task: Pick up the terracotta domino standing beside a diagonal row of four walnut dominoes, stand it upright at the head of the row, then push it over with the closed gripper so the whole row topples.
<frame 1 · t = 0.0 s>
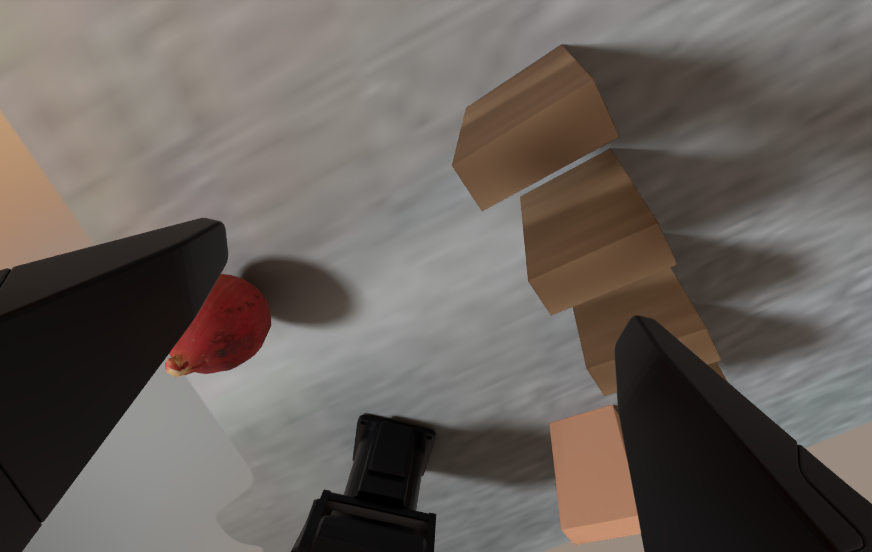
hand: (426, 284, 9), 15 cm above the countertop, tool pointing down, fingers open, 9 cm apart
domino 3: (612, 264, 25), on the countertop
domino 4: (571, 188, 23), on the countertop
loose domino: (585, 421, 33), on the countertop
pomegranate: (249, 284, 30), on the countertop
domino 5: (521, 96, 21), on the countertop
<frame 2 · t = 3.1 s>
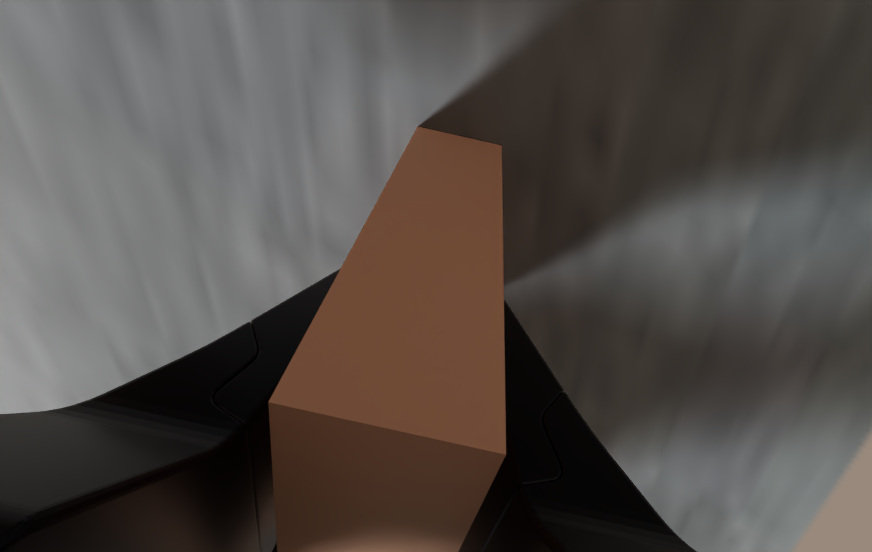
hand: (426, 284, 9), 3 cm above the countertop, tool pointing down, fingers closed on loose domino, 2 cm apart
loose domino: (439, 228, 12), on the countertop, touching gripper
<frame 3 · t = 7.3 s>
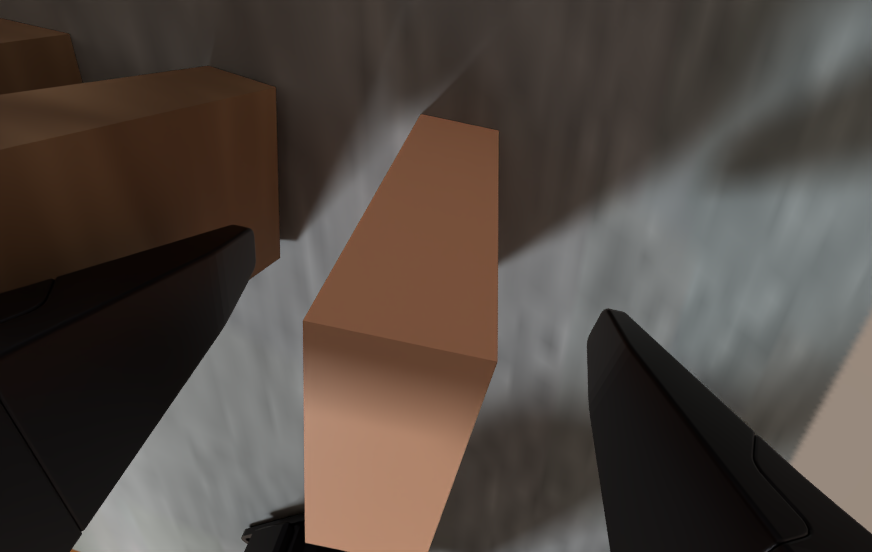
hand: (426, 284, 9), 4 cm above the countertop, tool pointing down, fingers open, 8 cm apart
domino 2: (247, 171, 12), on the countertop, tilted 14°
domino 3: (61, 124, 12), on the countertop
loose domino: (442, 210, 12), on the countertop
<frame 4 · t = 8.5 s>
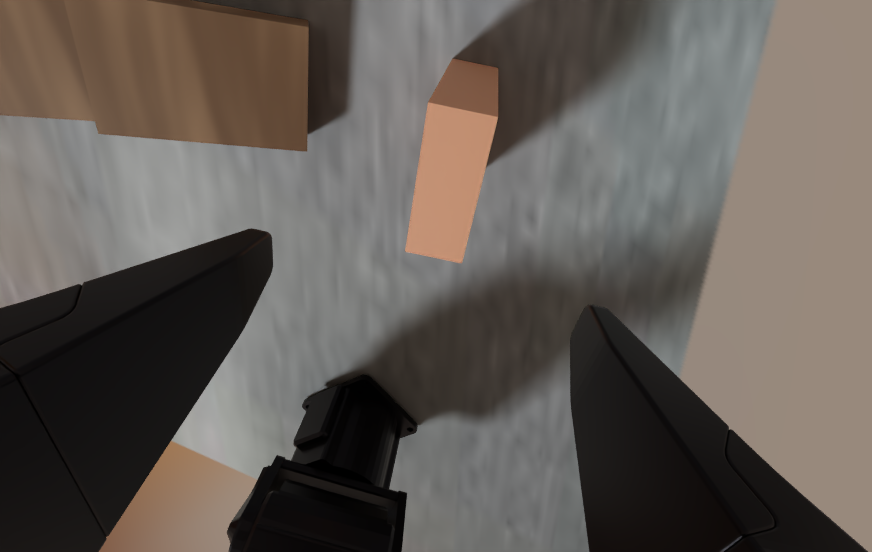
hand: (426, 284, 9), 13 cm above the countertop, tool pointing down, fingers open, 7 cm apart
domino 2: (307, 88, 19), point 1 cm above the countertop, tilted 69°
domino 3: (186, 62, 19), point 1 cm above the countertop, tilted 71°, touching domino 4
loose domino: (463, 121, 20), on the countertop
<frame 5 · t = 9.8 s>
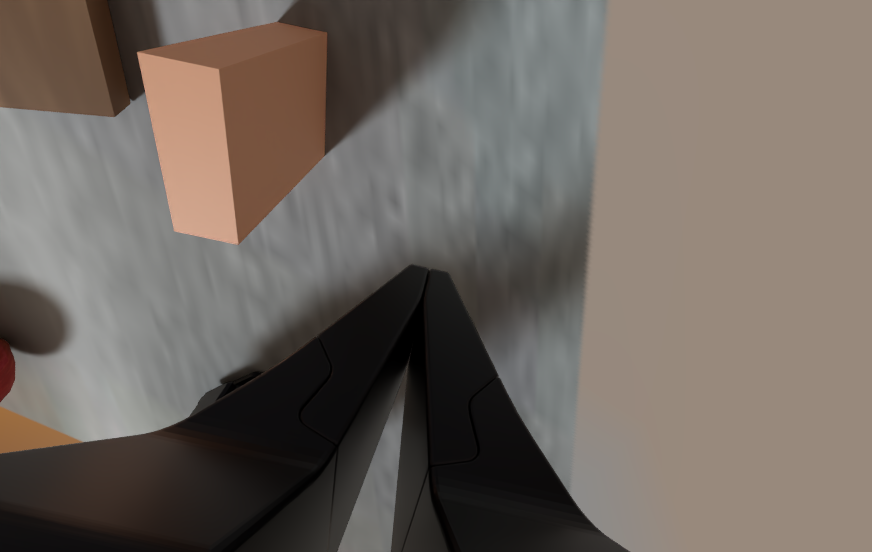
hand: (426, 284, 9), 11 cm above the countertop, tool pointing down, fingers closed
domino 2: (107, 45, 17), point 1 cm above the countertop, tilted 70°, touching domino 3
loose domino: (302, 94, 18), on the countertop
pomegranate: (6, 338, 31), on the countertop
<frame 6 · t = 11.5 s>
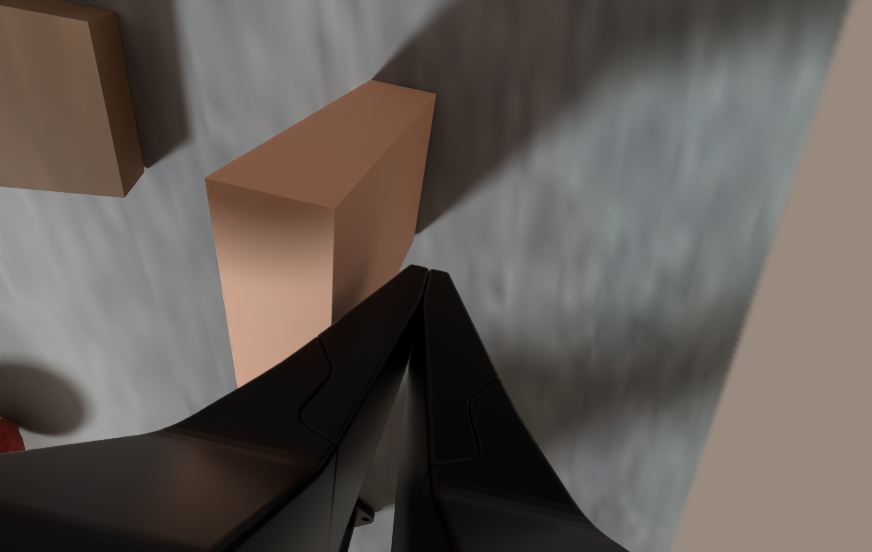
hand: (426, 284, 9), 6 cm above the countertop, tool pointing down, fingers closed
domino 2: (120, 108, 13), point 1 cm above the countertop, tilted 71°, touching domino 3
loose domino: (394, 166, 14), on the countertop, touching gripper
pomegranate: (15, 418, 27), on the countertop
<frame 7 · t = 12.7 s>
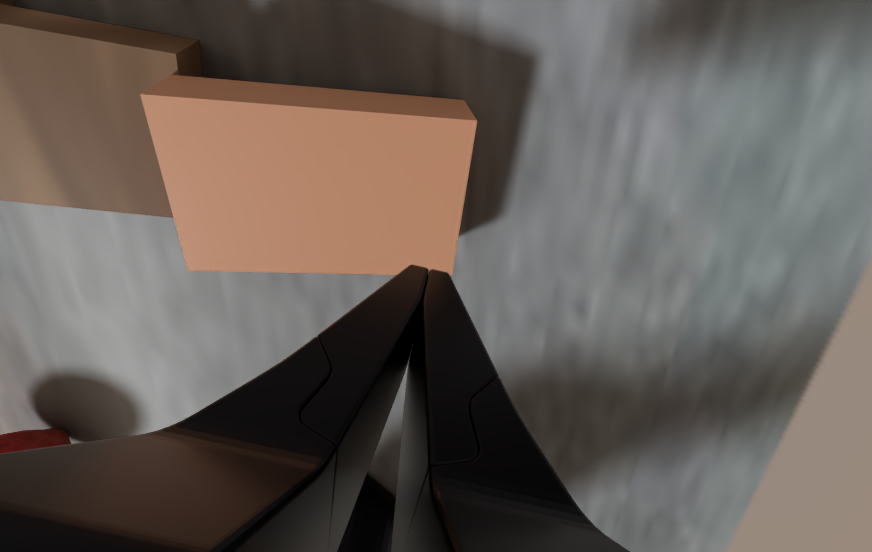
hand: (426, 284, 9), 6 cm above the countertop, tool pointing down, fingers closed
domino 2: (198, 134, 14), point 1 cm above the countertop, tilted 76°, touching loose domino
loose domino: (457, 192, 14), point 1 cm above the countertop, tilted 76°, touching domino 2
pomegranate: (65, 428, 27), on the countertop
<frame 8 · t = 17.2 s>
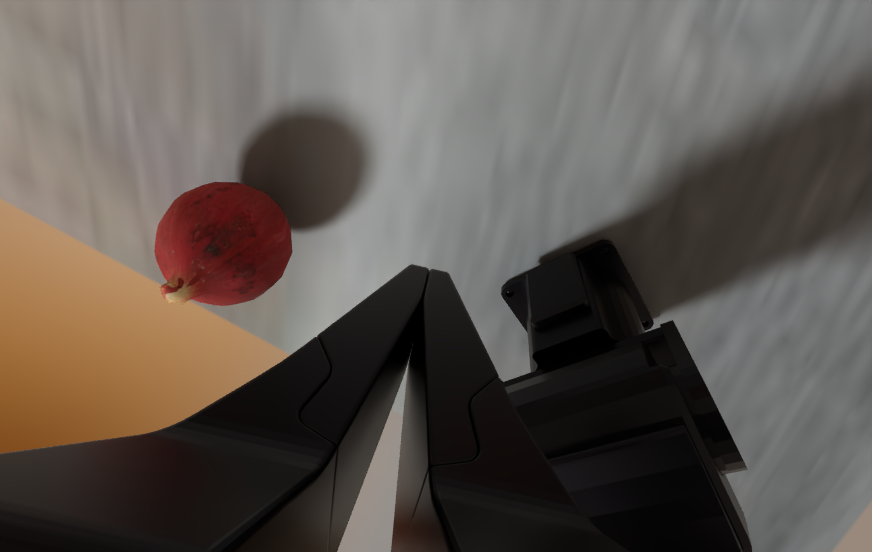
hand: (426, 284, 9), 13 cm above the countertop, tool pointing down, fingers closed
pomegranate: (264, 208, 24), on the countertop
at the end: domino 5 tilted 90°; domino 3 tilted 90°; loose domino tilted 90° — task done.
